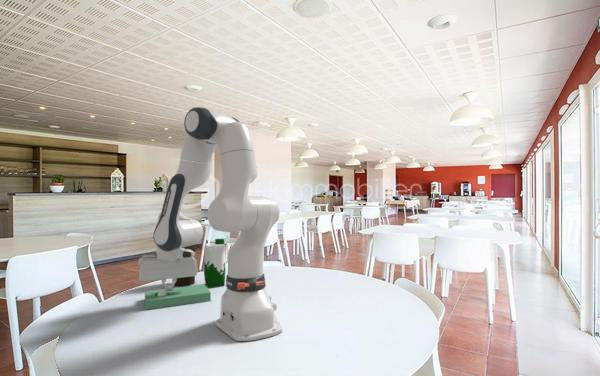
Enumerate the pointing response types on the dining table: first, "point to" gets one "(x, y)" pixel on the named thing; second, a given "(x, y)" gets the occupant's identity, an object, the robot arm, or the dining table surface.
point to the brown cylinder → (187, 280)
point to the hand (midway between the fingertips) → (168, 290)
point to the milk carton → (214, 263)
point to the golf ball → (162, 293)
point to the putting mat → (177, 296)
